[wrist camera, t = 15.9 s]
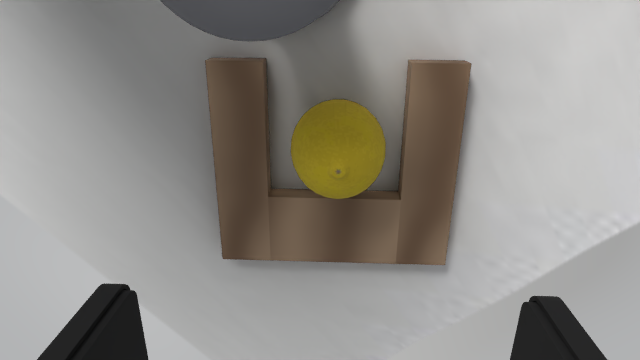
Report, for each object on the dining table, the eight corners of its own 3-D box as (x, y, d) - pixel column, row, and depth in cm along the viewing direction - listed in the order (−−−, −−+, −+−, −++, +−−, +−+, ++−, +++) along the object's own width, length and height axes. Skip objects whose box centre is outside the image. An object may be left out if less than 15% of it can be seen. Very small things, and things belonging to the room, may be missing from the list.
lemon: (378, 86, 28) (394, 116, 21) (378, 167, 30) (392, 220, 23) (293, 89, 29) (279, 120, 21) (299, 169, 31) (287, 222, 23)
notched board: (227, 248, 33) (222, 258, 32) (211, 57, 28) (205, 60, 27) (440, 254, 33) (444, 264, 31) (464, 60, 28) (471, 63, 26)
